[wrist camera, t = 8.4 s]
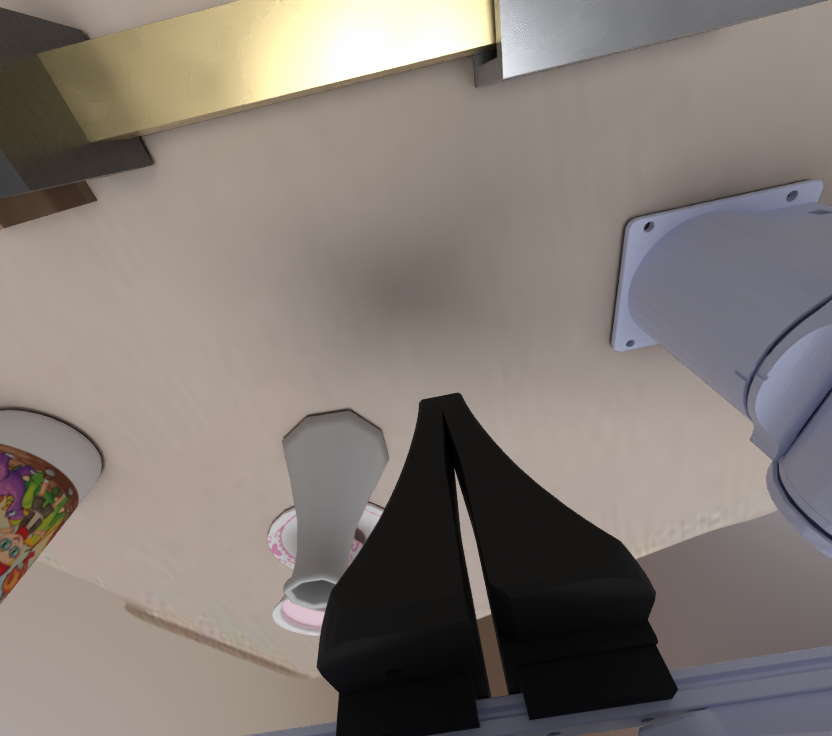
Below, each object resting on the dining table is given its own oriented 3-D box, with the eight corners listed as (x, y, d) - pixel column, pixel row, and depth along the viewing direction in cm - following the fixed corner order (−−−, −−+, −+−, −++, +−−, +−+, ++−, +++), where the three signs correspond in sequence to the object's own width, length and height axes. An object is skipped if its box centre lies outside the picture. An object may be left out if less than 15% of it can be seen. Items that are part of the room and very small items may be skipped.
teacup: (288, 577, 37) (272, 652, 31) (250, 502, 30) (223, 582, 25) (409, 565, 37) (412, 637, 32) (399, 488, 30) (402, 564, 25)
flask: (263, 434, 26) (207, 586, 17) (354, 393, 24) (339, 537, 16) (324, 491, 29) (301, 637, 21) (405, 458, 28) (414, 602, 20)
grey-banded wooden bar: (492, -79, 13) (575, -229, 7) (500, 81, 15) (566, 61, 10) (-55, 65, 14) (-349, 32, 8) (37, 192, 16) (-143, 232, 11)
